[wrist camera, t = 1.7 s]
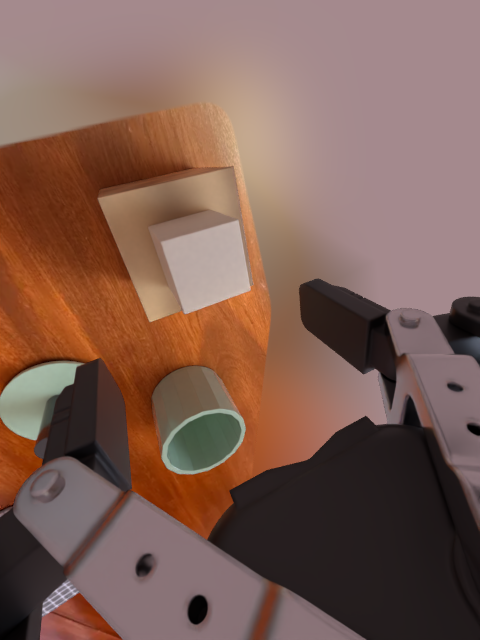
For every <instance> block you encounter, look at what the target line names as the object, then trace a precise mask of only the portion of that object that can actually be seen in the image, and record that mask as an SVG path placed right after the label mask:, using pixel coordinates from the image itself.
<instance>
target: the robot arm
mask: <svg viewBox="0 0 480 640" xmlns="http://www.w3.org/2000/svg"><path fill="white" fill-rule="evenodd" d="M299 295H300V310H301V320H302V322H303V325H304V326H305V328H306V329H307V330H308V331H310V332H311V333H312V334H313V335H315V336H316V337H317V338H318V339H320V340H321V341H322V342H323V343H325V344H326V345H327V346H328V347H330V348H331V349H332V350H334V351H335V352H336V353H337V354H339V355H340V356H341V357H342V358H344V359H345V360H346V361H347V362H349V363H350V364H351V365H353V366H354V367H355V368H356V369H357V370H359V371H360V372H361V373H362V374H366V373H368V372H370V371H371V370H374V369H377V370H378V371H379V373H378V381H379V385H380V389H381V394H382V399H383V403H384V408H385V412H386V417H387V424H383V425H375V424H374V423H373V422H372V421H371V420H370V419H369V418H368V417H366V416H365V417H363V418H361V419H359V420H358V421H356V422H354V423H352V424H350V425H348V426H346V427H345V428H343V429H341V430H339V431H337V432H336V433H335V434H334V435H333V436H332V437H331V438H330V439H329V440H328V441H327V442H326V443H325V444H324V445H323V446H322V447H321V448H320V449H319V450H318V451H317V452H316V453H315V454H314V455H313V456H312V457H311V458H310V459H308V460H306V461H303V462H299V463H294V464H290V465H286V466H282V467H278V468H274V469H270V470H266V471H265V472H263V473H261V474H259V475H257V476H255V477H253V478H252V479H250V480H248V481H246V482H244V483H242V484H241V485H239V486H237V487H235V488H233V489H231V490H230V494H231V497H232V499H233V502H234V503H233V504H232V505H231V506H230V507H229V508H228V509H227V510H226V511H225V513H224V514H223V515H222V516H221V518H220V519H219V520H218V522H217V523H216V525H215V526H214V528H213V530H212V531H211V533H210V535H209V537H208V539H207V540H206V539H204V538H203V537H201V536H200V535H198V534H197V533H195V532H194V531H192V530H191V529H189V528H188V527H186V526H185V525H183V524H182V523H180V522H179V521H177V520H176V519H174V518H173V517H171V516H170V515H168V514H167V513H165V512H164V511H162V510H161V509H159V508H158V507H156V506H155V505H153V504H152V503H150V502H149V501H147V500H146V499H144V498H143V497H141V496H140V495H138V494H137V493H135V492H133V491H131V490H130V489H132V485H131V473H130V461H129V448H128V436H127V424H126V411H125V403H124V399H123V396H122V393H121V391H120V389H119V387H118V385H117V384H116V382H115V380H114V379H113V377H112V375H111V373H110V372H109V370H108V368H107V366H106V365H105V363H104V361H103V360H102V359H101V358H99V359H96V360H94V361H91V362H88V363H85V364H83V365H80V366H77V368H76V372H75V379H74V384H71V385H68V386H66V387H65V388H64V389H63V391H62V392H61V393H60V395H59V396H58V398H57V399H56V402H55V407H54V412H53V413H54V415H53V416H52V421H51V425H52V426H50V430H49V435H48V439H47V444H46V449H45V453H44V458H43V463H42V466H41V467H40V468H38V469H37V470H36V471H35V472H34V473H33V474H32V475H31V476H30V477H29V478H28V479H27V480H26V481H25V482H24V484H23V485H22V486H21V488H20V489H19V491H18V493H17V495H16V498H15V500H14V504H13V508H12V509H10V510H9V511H8V512H6V513H5V514H4V515H2V516H1V517H0V640H40V630H41V620H42V609H43V601H44V600H45V599H47V598H48V597H49V596H50V595H51V594H52V593H53V592H54V591H55V590H56V589H57V588H58V587H60V586H61V585H62V584H63V583H64V582H65V581H66V580H67V579H68V580H69V581H70V582H71V583H72V585H73V586H74V587H75V588H76V589H77V590H78V591H79V592H80V593H81V594H82V595H83V596H84V598H85V599H86V600H87V601H88V602H89V603H90V604H91V605H92V606H93V607H94V608H95V610H96V611H97V612H98V613H99V614H100V615H101V616H102V617H103V618H104V619H105V620H106V621H107V623H108V624H109V625H110V626H111V627H112V628H113V629H114V630H115V631H116V632H117V633H118V635H119V636H120V637H121V638H122V639H123V640H480V297H463V298H459V299H456V300H455V301H454V302H453V303H452V307H451V310H450V313H448V314H442V315H436V316H431V315H430V314H428V313H426V312H424V311H421V310H418V309H412V308H400V309H395V310H392V311H391V310H388V309H386V308H384V307H382V306H380V305H378V304H376V303H374V302H372V301H370V300H368V299H366V298H363V297H362V296H360V295H358V294H355V293H354V292H352V291H350V290H348V289H346V288H343V287H338V286H334V285H331V284H329V283H327V282H325V281H323V280H321V279H314V280H312V281H309V282H306V283H304V284H301V285H300V288H299Z"/></svg>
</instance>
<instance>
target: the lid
mask: <svg viewBox="0 0 480 640" xmlns="http://www.w3.org/2000/svg"><path fill="white" fill-rule="evenodd" d="M83 364H84V363H80V362H75V361H53V362H47V363H42V364H39V365H36V366H33V367H31V368H28V369H26V370H24V371H23V372H21V373H19V374H18V375H16V376H15V377H14V378H13V379H12V380H11V381H9V383H8V384H7V385H6V386H5V388H4V390H3V391H2V393H1V396H0V417H1V419H2V421H3V423H4V424H5V425H6V426H7V427H8V428H9V429H10V430H11V431H13V432H15V433H16V434H18V435H20V436H22V437H25V438H28V439H32V440H36V444H35V448H34V452H35V454H36V456H38V457H39V458H42V459H43V458H44V453H45V449H46V444H47V439H48V435H49V430H50V426H52V425H51V421H52V416H53V415H54V413H53V412H54V407H55V402H56V399H57V398H58V396H59V395H60V393H61V392H62V391H63V389H64V388H65V387H66V386H68V385H71V384H74V379H75V372H76V368H77V366H80V365H83Z"/></svg>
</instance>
